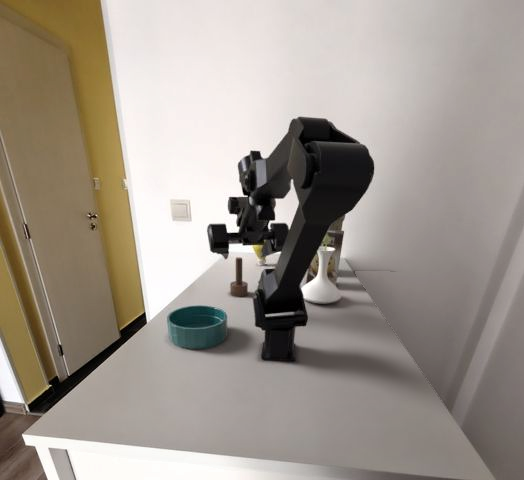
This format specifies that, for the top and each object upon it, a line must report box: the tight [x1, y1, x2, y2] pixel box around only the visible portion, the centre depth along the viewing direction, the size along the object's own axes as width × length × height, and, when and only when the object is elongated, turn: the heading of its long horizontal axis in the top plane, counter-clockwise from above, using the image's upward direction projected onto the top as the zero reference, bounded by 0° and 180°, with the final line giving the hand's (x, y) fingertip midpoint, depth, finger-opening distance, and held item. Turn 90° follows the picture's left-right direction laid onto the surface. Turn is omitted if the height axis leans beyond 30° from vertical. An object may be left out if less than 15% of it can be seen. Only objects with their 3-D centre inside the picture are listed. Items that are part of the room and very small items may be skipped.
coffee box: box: [305, 230, 345, 287], centre depth 99 cm, size 9×6×16 cm
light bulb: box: [252, 240, 267, 267], centre depth 119 cm, size 7×7×10 cm
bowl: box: [166, 304, 228, 350], centre depth 69 cm, size 12×12×4 cm
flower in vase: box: [301, 233, 342, 305], centre depth 84 cm, size 13×11×25 cm
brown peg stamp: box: [229, 256, 249, 298], centre depth 91 cm, size 5×5×10 cm
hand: (243, 256), depth 83 cm, fingers open, 9 cm apart
